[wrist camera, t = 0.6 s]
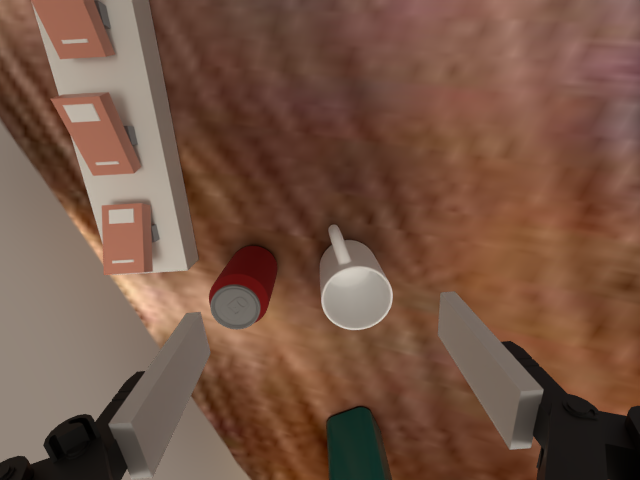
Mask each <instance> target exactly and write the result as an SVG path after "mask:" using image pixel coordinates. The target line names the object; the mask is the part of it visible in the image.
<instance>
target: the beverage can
mask: <svg viewBox="0 0 640 480" xmlns="http://www.w3.org/2000/svg"><path fill="white" fill-rule="evenodd" d="M276 275H277V263H276V260H275V258H274V256H273V255H272V254H271V253H270V252H269V251H268V250H266V249H264V248H262V247H258V246H247V247H244V248H242V249H240V250H239V251H237V252H236V253H235V255H234V256H233V257H232V259H231V260H230V261H229V263H228V264H227V266H226V267H225V268H224V270H223V271H222V273H221V274H220V276H219V277H218V278H217V280H216V281H215V283H214V284H213V286H212V288H211V290H210V294H209V303H210V307H211V312H212V315H213V317H214V318H215V319H216V321H217V322H218V323H220V324H221V325H223V326H225V327H227V328H230V329H244V328H247V327H249V326H251V325H252V324H253V323H255V322H257V321H258V320H260V319H261V318H262V317H263V316H264V314H265V313H266V311H267V308H268V305H269V301H270V298H271V294H272V290H273V287H274V283H275V279H276Z"/></svg>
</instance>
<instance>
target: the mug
mask: <svg viewBox="0 0 640 480" xmlns="http://www.w3.org/2000/svg"><path fill="white" fill-rule="evenodd" d="M328 231H329V236H330V239H331V242H332V245H331V246H330V247H329V248H328V249H327V250H326V251H325V252H324V254H323V256H322V258H321V261H320V288H321V303H322V308H323V310H324V313H325V314H326V316H327V317H328V318H329V319H330V320H331V321H332V322H333V323H334V324H336V325H337V326H339V327H342V328H345V329H349V330H361V329H366V328H369V327H371V326H373V325H375V324H377V323H378V322H380V321H381V320H382V319H383V318H384V317H385V316H386V314H387V313H388V311H389V310H390V307H391V304H392V299H393V294H392V288H391V285H390V283H389V281H388V280H387V278H386V276H385V274H384V272H383V271H382V269H381V267H380V265H379V263H378V262H377V260H376V258H375V256H374V254H373V253H372V252H371V250H370V249H369V248H368V247H367V246H365V245H364V244H362V243H360V242H358V241H354V240H344V239H343V236H342V234H341V232H340V229H339V227H338V226H337V225H331V226H330V227H329V229H328Z"/></svg>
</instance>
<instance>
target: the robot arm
mask: <svg viewBox="0 0 640 480" xmlns="http://www.w3.org/2000/svg"><path fill="white" fill-rule="evenodd" d="M438 336H439V337H440V339H441V341H442V342H443V344H444V345H445V347H446V349H447V350H448V352H449V353H450V355H451V357H452V358H453V360H454V361H455V363H456V365H457V366H458V368H459V369H460V371H461V373H462V374H463V376H464V377H465V379H466V380H467V382H468V384H469V385H470V387H471V388H472V390H473V392H474V393H475V395H476V396H477V398H478V400H479V401H480V403H481V404H482V406H483V408H484V409H485V411H486V412H487V414H488V416H489V417H490V419H491V420H492V422H493V424H494V425H495V427H496V428H497V430H498V432H499V433H500V435H501V436H502V438H503V440H504V441H505V443H506V444H507V446H508V448H509V449H523V448H531V444H532V440H533V436H534V437H535V439H536V440H537V441H538V443H539V444H540V445H541V450H540V454H539V459H538V463H537V467H536V468H538V473H537V480H608V479H609V480H640V406H635V407H631V409H630V410H629V411H628V414H627V416H624V415H618V414H613V413H607V412H602V411H598V409H597V408H596V407H595V406H593V405H592V404H591V403H589V402H588V401H586V400H584V399H582V398H580V397H578V396H575V395H571V394H567V393H566V392H565V391H564V390H563V389H562V388H561V387H560V386H559V385H558V384H557V383H556V382H555V381H554V380H553V379H552V378H551V377H550V376H549V375H548V374H547V372H546V371H545V370H544V369H543V368H542V367H539V364H538V363H537V362H536V361H535V360H534V359H532V357H531V356H530V355H529V354H528V353H527V352H526V351H525V350H524V349H523V348H521V347H520V346H518V345H516V344H515V343H513V342H511V341H506V342H500V341H499V340H498V339H497V338H496V336H495V335H494V334H493V333H492V332H491V331H490V330H489V329H488V328H487V327H486V325H485V324H484V323H483V322H482V321H481V320H480V319H479V318H478V317H477V316H476V314H475V313H474V312H473V311H472V310H471V309H470V308H469V307H468V306H467V305H466V303H465V302H464V301H463V300H462V299H461V298H460V297H459V296H458V295H457V293H456V292H443V293H441V295H440V311H439V326H438ZM209 355H210V349H209V345H208V341H207V337H206V333H205V329H204V325H203V320H202V316H201V312H195V313H186V315H185V316H184V317H183V319H182V320H181V322H180V323H179V324H178V326H177V327H176V329H175V330H174V332H173V333H172V334H171V336H170V337H169V339H168V340H167V342H166V343H165V344H164V346H163V347H162V349H161V350H160V351H159V353H158V354H157V356H156V357H155V359H154V360H153V362H152V363H151V364H150V366H149V367H148V369H147V370H146V371H141V372H136V373H135V374H134V375H133V376H132V377H130V378H129V379H128V380H127V381H126V382H125V383H124V384H123V386H122V387H121V389H120V390H119V391H118V393H117V394H116V395H115V397H114V398H113V399H112V402H110V403H109V404H108V406H107V407H106V408H105V410H104V411H103V412H102V414H101V415H100V416H99V418H98V419H97V420H96V422H94V419H93V418H92V416H91V415H87V414H83V415H77V416H75V417H72V418H70V419H68V420H66V421H64V422H63V423H61V424H59V425H58V426H57V427H56V428H55V429H54V430H52V431H51V432H50V434H49V435H48V436H47V438H46V439H45V442H44V447H45V449H46V451H47V453H48V455H49V457H50V458H48V459H45V460H42V461H39V462H36V463H33V464H30V463H29V461H28V460H27V459H26V458H25V456H17V457H13V458H9V459H7V460H5V461H3V462H1V463H0V480H121V479H122V477H123V475H124V473H125V472H126V470H127V469H128V472H129V474H130V476H131V479H144V478H153V476H154V474H155V471H156V469H157V467H158V465H159V463H160V461H161V459H162V456H163V454H164V452H165V450H166V448H167V446H168V444H169V441H170V439H171V437H172V435H173V432H174V431H175V428H176V426H177V424H178V422H179V420H180V418H181V416H182V413H183V411H184V409H185V407H186V405H187V403H188V401H189V398H190V396H191V394H192V392H193V390H194V388H195V385H196V383H197V381H198V379H199V377H200V375H201V373H202V370H203V368H204V366H205V364H206V362H207V360H208V358H209Z"/></svg>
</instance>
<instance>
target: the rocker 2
mask: <svg viewBox="0 0 640 480" xmlns="http://www.w3.org/2000/svg"><path fill="white" fill-rule="evenodd" d="M51 100H52V102H53V104H54V106H55V108H56V109H57V111H58V113H59V115H60V117H61V119H62V120H63V122H64V124H65V126H66V128H67V129H68V131H69V133H70V135H71V137H72V138H73V140H74V142H75V144H76V146H77V147H78V149H79V151H80V153H81V155H82V156H83V158H84V160H85V162H86V164H87V166H88V167H89V169H90V171H91V173H92V175H93V176H99V175H117V174H134V173H135V172H136V171H137V170H138V169H139V168H140V167H141V165H140V163H139V160H138V158H137V156H136V154H135V151H134V149H133V147H132V144H131V142H130V140H129V137H128V135H127V133H126V131H125V128H124V126H123V124H122V121H121V119H120V117H119V115H118V112H117V110H116V108H115V105H114V103H113V101H112V99H111V96H110V94H109V92H100V93H82V94H64V95H60V96H57V97H55V98H52V99H51Z"/></svg>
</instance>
